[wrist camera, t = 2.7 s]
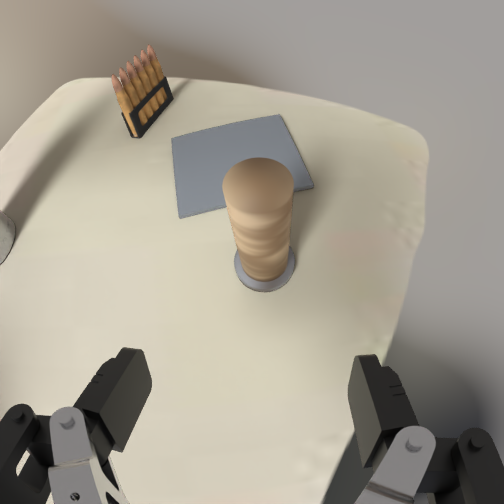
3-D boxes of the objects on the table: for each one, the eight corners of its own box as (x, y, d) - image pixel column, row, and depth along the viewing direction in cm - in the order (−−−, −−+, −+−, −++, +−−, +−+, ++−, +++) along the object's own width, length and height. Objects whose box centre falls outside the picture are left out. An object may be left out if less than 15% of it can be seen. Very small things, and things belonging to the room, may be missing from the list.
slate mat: (180, 218, 34) (178, 216, 33) (172, 141, 40) (171, 138, 39) (313, 187, 34) (313, 184, 34) (279, 117, 40) (279, 114, 40)
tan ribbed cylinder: (242, 298, 29) (220, 232, 17) (230, 245, 32) (205, 161, 20) (301, 283, 29) (317, 210, 18) (284, 232, 32) (288, 143, 20)
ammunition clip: (140, 139, 41) (113, 77, 30) (131, 138, 41) (103, 78, 31) (173, 98, 45) (156, 41, 34) (165, 98, 46) (147, 42, 35)
